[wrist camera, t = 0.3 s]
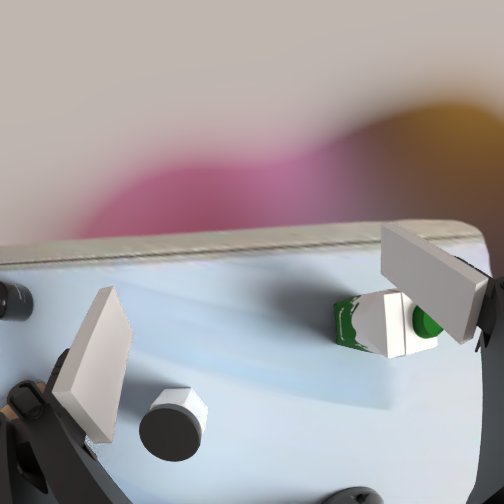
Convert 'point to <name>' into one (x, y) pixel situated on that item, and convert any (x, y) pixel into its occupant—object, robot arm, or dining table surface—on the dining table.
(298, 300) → the dining table surface
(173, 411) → the jar
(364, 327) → the milk carton
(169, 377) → the dining table surface
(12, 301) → the supplement bottle
